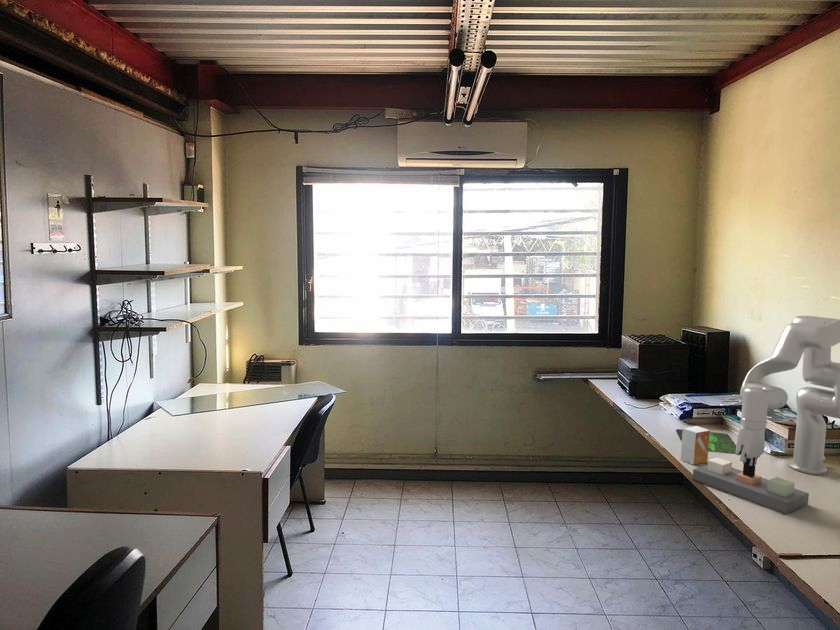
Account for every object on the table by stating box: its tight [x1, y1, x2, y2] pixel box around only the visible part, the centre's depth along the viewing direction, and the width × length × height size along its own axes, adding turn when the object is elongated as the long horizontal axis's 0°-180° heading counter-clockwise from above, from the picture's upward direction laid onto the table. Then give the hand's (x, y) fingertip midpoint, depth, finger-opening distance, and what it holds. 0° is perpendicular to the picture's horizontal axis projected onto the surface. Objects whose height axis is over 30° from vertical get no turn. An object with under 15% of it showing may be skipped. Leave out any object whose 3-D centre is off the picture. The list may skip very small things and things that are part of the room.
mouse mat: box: [675, 428, 737, 455], centre depth 256 cm, size 27×22×1 cm
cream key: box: [707, 456, 733, 475], centre depth 212 cm, size 6×6×5 cm
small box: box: [679, 425, 711, 466], centre depth 231 cm, size 8×6×13 cm
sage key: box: [767, 476, 795, 497], centre depth 194 cm, size 6×6×5 cm
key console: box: [692, 464, 810, 515], centre depth 203 cm, size 14×32×4 cm, turn 33°
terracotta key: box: [736, 472, 762, 486], centre depth 203 cm, size 6×6×5 cm
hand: (748, 475), depth 203 cm, fingers closed
